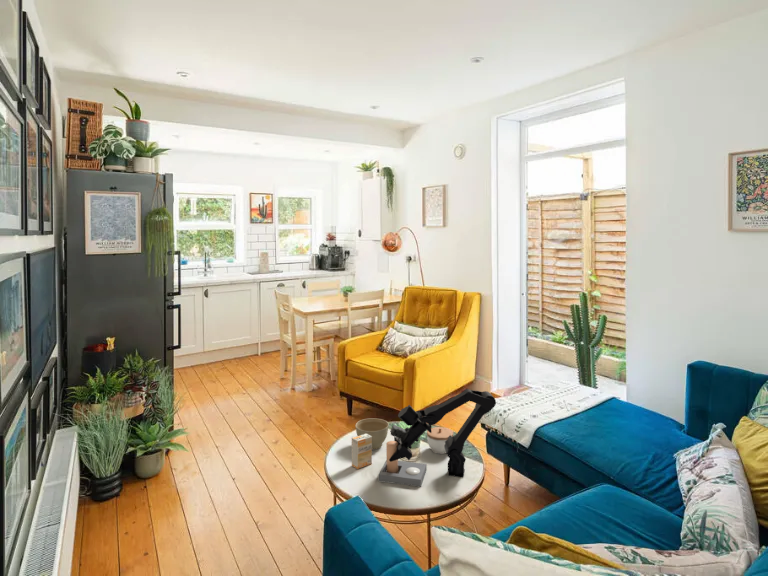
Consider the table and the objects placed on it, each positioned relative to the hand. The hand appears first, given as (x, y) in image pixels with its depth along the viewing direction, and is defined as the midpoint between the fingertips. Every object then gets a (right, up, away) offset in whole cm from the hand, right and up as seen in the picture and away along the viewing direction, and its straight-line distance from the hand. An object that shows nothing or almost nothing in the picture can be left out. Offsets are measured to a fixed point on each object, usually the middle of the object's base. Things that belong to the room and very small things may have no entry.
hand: (389, 457), depth 202 cm
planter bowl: (-8, -5, +30) cm, 32 cm away
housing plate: (+6, -8, +1) cm, 10 cm away
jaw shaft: (+1, -7, +1) cm, 7 cm away
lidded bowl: (+25, -5, +25) cm, 35 cm away
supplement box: (-12, -7, +11) cm, 18 cm away
